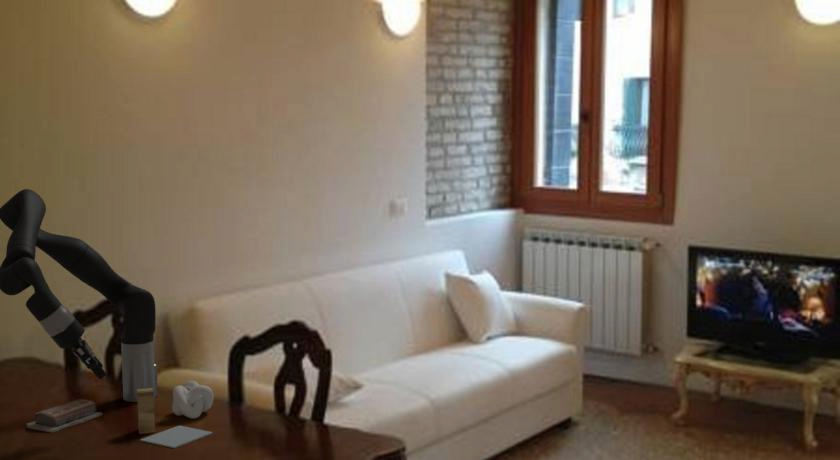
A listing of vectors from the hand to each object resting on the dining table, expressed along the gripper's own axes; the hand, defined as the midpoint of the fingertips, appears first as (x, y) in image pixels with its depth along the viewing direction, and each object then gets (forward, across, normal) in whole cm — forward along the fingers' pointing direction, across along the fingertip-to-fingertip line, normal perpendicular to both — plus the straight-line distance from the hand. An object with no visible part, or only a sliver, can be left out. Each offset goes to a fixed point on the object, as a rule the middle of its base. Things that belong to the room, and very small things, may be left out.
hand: (101, 372), depth 263 cm
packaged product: (+10, -17, -17) cm, 26 cm away
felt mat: (+24, +10, +5) cm, 26 cm away
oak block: (+20, +1, -1) cm, 20 cm away
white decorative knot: (+28, -10, +10) cm, 31 cm away
